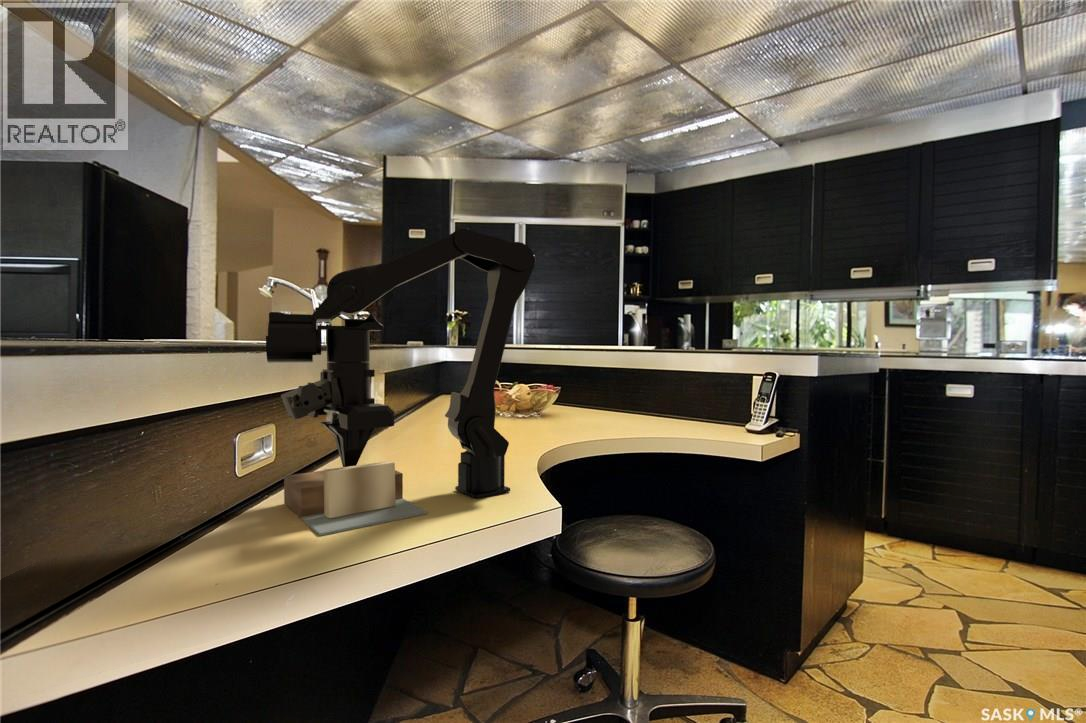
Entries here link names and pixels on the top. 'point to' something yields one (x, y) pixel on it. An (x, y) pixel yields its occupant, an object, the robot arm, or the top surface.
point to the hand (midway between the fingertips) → (348, 471)
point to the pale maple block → (359, 488)
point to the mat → (362, 518)
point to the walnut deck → (316, 492)
